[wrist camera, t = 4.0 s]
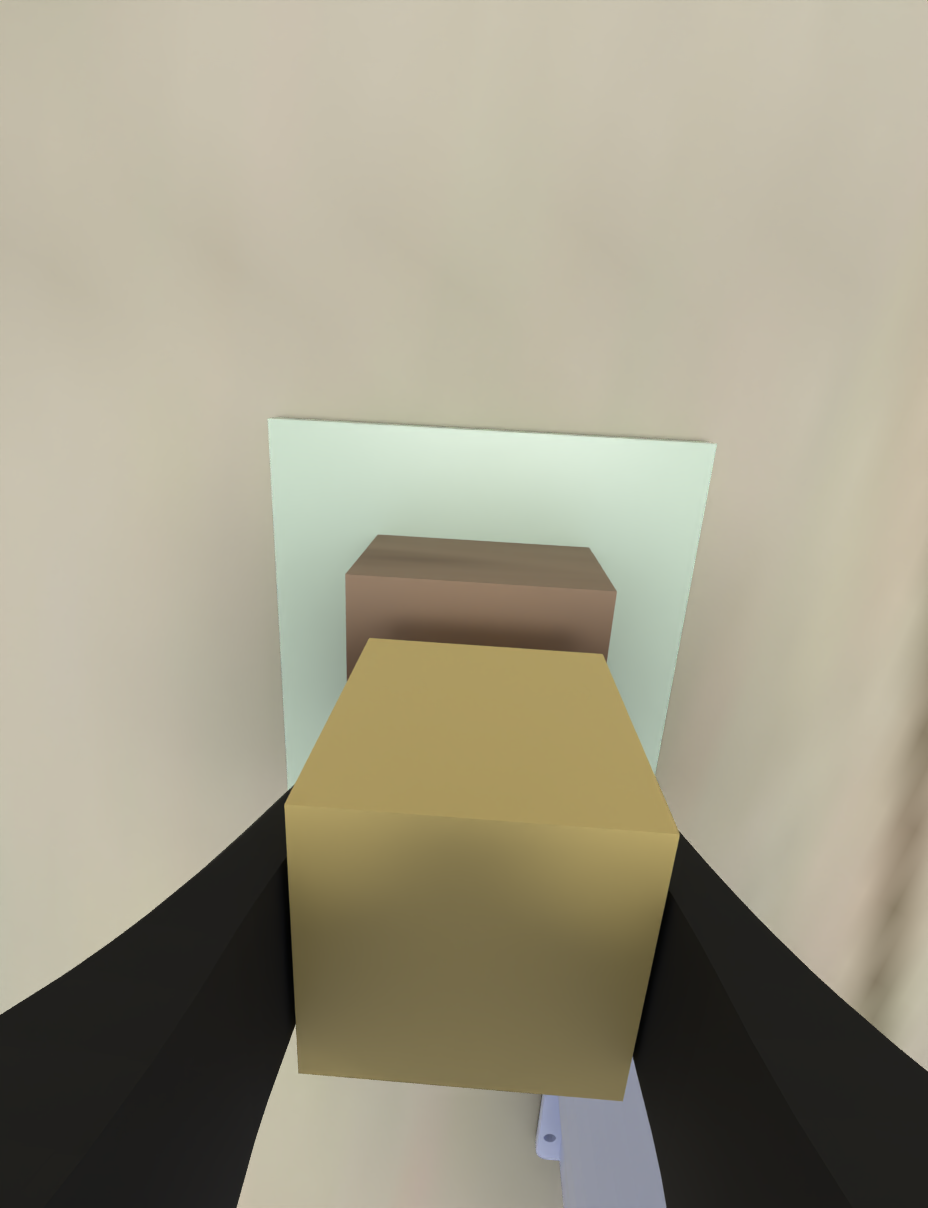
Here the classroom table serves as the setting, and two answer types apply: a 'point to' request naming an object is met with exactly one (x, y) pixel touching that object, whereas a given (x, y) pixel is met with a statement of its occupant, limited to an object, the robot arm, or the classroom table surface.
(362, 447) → the build plate
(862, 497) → the classroom table surface
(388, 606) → the base block
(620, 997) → the brick
